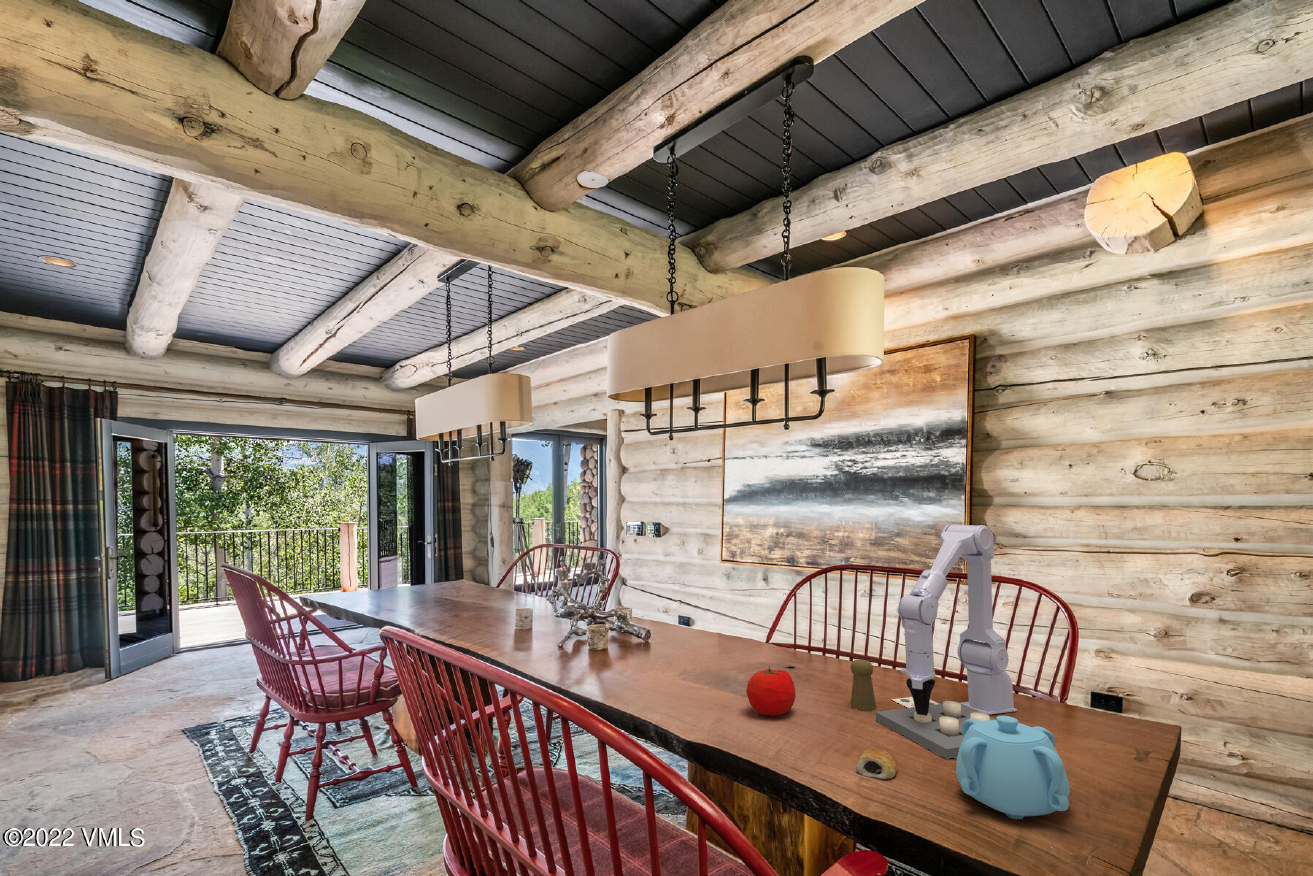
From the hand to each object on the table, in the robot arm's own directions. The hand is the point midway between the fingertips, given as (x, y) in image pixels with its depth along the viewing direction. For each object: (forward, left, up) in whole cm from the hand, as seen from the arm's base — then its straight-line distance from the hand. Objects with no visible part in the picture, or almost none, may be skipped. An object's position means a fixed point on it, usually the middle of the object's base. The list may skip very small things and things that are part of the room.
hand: (922, 714), depth 135 cm
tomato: (+27, -19, -3) cm, 33 cm away
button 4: (0, +8, -1) cm, 8 cm away
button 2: (-8, +8, -1) cm, 11 cm away
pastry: (+22, +15, -3) cm, 27 cm away
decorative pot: (+9, +32, -3) cm, 33 cm away
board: (-4, +4, -3) cm, 6 cm away
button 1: (-8, 0, -1) cm, 8 cm away
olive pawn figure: (+4, -16, -3) cm, 17 cm away
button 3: (0, 0, -3) cm, 3 cm away
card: (-10, -14, -3) cm, 17 cm away
